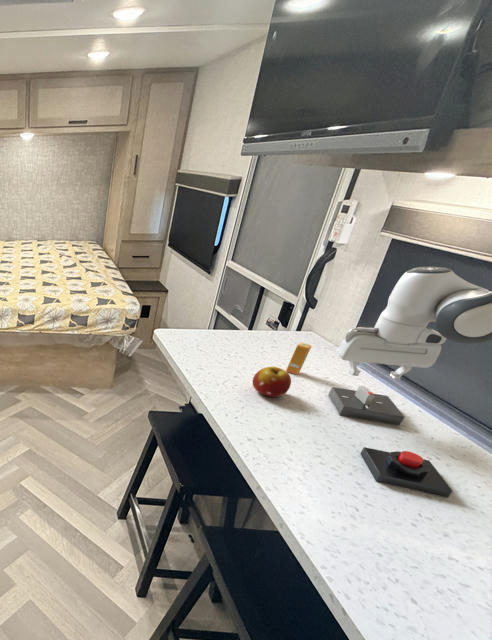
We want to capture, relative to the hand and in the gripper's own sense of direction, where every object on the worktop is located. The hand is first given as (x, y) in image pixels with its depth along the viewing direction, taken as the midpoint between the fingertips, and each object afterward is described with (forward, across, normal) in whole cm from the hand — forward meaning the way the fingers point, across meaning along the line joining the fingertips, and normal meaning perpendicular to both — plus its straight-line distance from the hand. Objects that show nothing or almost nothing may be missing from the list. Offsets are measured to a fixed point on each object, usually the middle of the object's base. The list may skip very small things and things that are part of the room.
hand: (373, 376), depth 108 cm
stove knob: (+8, 0, 0) cm, 8 cm away
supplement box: (+11, -8, +20) cm, 24 cm away
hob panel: (+11, +1, 0) cm, 11 cm away
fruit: (+11, -21, +4) cm, 24 cm away
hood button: (+7, -5, -28) cm, 29 cm away
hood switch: (+11, -5, -28) cm, 30 cm away
